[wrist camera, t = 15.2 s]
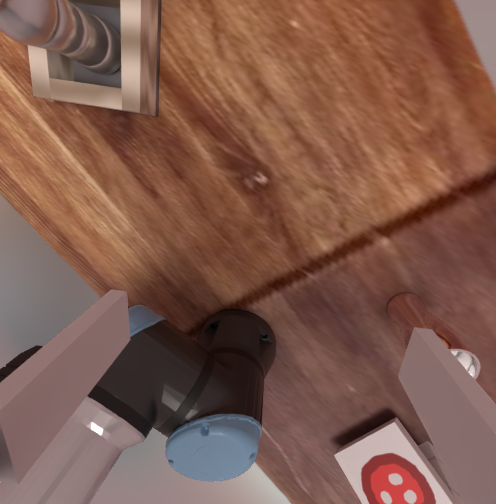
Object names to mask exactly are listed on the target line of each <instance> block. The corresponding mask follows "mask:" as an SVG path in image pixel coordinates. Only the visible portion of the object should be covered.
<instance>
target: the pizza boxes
mask: <svg viewBox="0 0 496 504" xmlns="http://www.w3.org/2000/svg"><path fill="white" fill-rule="evenodd" d="M334 456H335V458H336V460H337V461H338V463H339V465H340V467H341V468H342V470H343V472H344V473H345V475H346V477H347V478H348V480H349V482H350V484H351V485H352V487H353V489H354V490H355V492H356V494H357V496H358V497H359V499H360V501H361V502H362V504H464V502H463V500H462V498H461V496H460V494H459V492H458V491H457V489H456V487H455V485H454V483H453V481H452V479H451V477H450V475H449V473H448V471H447V470H446V468H445V466H444V464H443V462H442V460H441V458H440V456H439V454H438V452H437V450H436V449H435V447H434V446H432V445H431V444H430V443H429V442H428V441H426V442H424V443H422V444H420V445H418V446H417V444H416V443H415V442H414V440H413V439H412V438H411V436H410V435H409V433H408V432H407V431H406V429H405V428H404V426H403V425H402V424H401V422H400V421H399V420H398V418H397V417H395V418H393V419H392V420H390V421H388V422H386V423H384V424H383V425H381V426H379V427H377V428H375V429H374V430H372V431H370V432H368V433H366V434H364V435H363V436H361V437H359V438H357V439H355V440H354V441H352V442H350V443H348V444H346V445H345V446H343V447H341V448H339V449H338V450H337V451H336V453H335V454H334Z"/></svg>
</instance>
